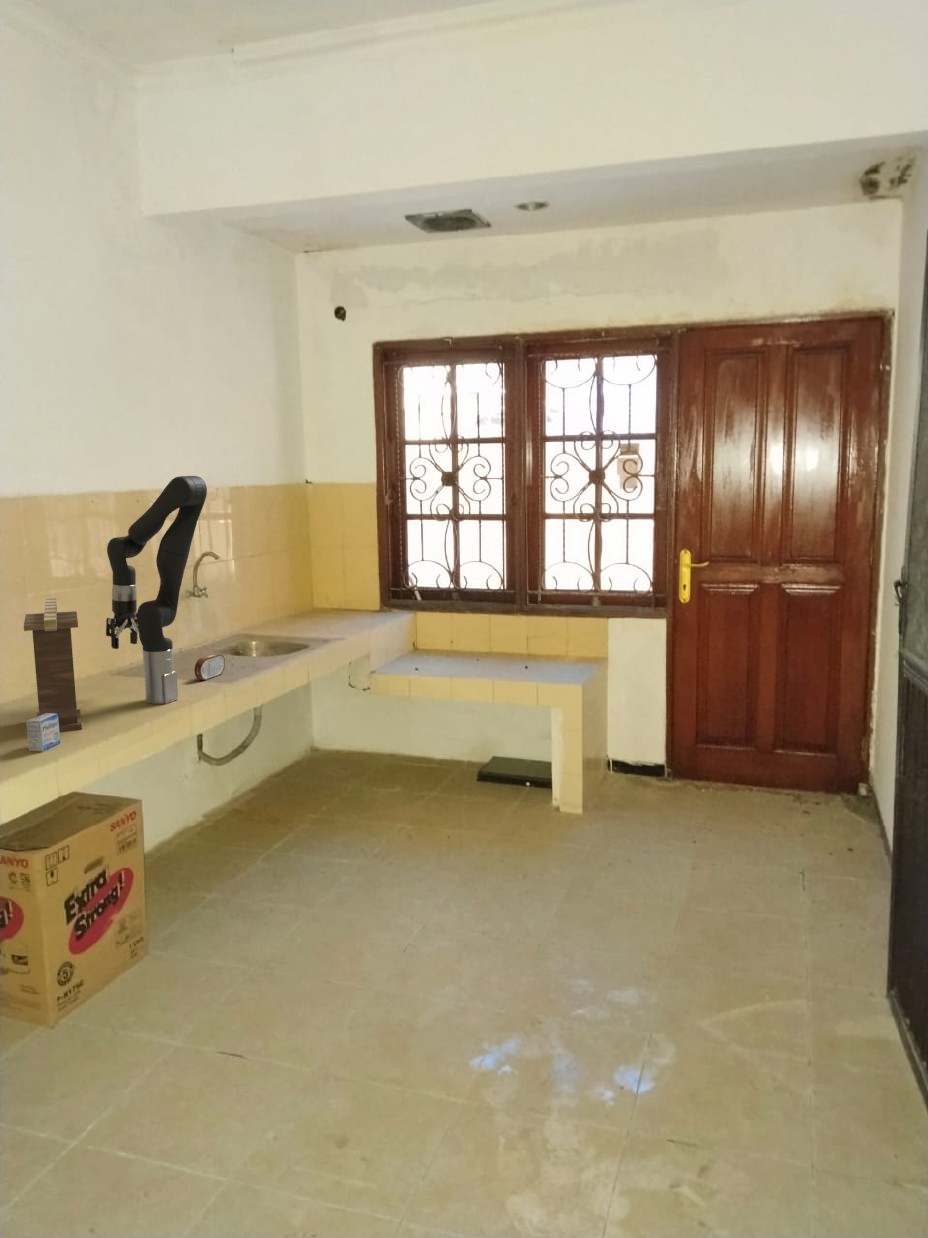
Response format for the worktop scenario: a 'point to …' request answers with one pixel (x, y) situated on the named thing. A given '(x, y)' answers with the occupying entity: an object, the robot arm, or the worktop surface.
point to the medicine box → (43, 732)
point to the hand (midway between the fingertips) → (124, 646)
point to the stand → (55, 668)
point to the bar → (50, 615)
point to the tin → (209, 666)
